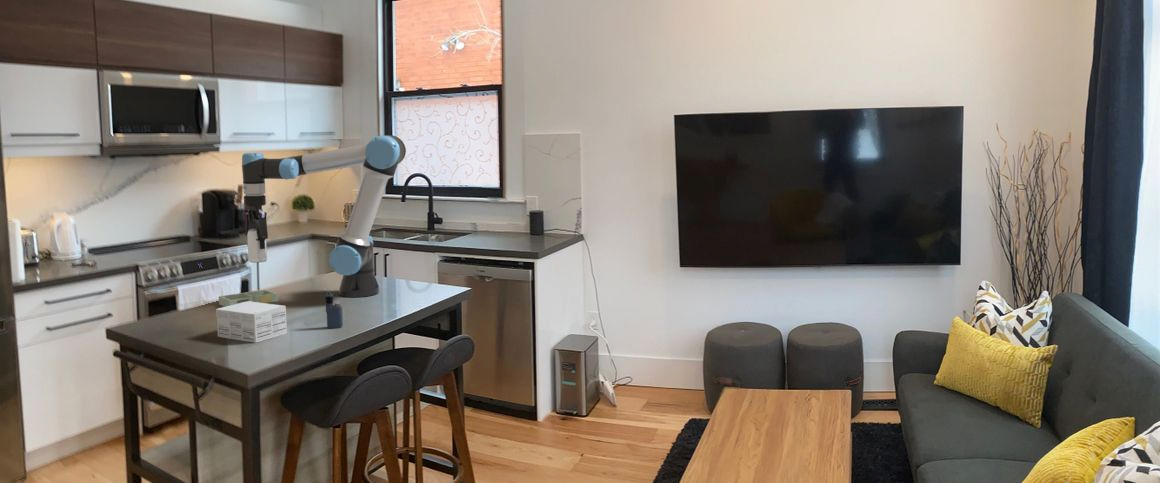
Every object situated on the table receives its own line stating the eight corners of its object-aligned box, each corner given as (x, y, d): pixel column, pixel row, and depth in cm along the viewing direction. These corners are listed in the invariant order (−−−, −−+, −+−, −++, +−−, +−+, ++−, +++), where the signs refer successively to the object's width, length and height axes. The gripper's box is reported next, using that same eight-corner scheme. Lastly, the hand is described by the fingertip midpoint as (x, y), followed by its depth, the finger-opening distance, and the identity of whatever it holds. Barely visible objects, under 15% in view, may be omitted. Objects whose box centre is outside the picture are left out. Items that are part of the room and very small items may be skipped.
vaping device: (327, 326, 269) (325, 291, 267) (343, 326, 270) (342, 290, 268) (325, 328, 267) (324, 292, 265) (342, 328, 267) (340, 292, 265)
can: (270, 260, 307) (268, 228, 305) (261, 263, 300) (260, 230, 298) (254, 259, 307) (252, 228, 305) (245, 262, 301) (243, 230, 299)
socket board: (278, 301, 305) (278, 293, 305) (230, 309, 293) (229, 300, 292) (266, 297, 313) (266, 289, 312) (219, 304, 300) (218, 296, 299)
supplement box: (288, 333, 261) (286, 305, 259) (255, 343, 249) (254, 314, 248) (250, 327, 268) (248, 299, 267) (217, 337, 256) (215, 308, 255)
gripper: (233, 193, 304) (237, 254, 308) (255, 197, 291) (258, 260, 294) (253, 192, 309) (256, 252, 313) (276, 196, 296) (278, 258, 299)
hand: (257, 256), depth 303 cm, fingers closed on can, 6 cm apart
